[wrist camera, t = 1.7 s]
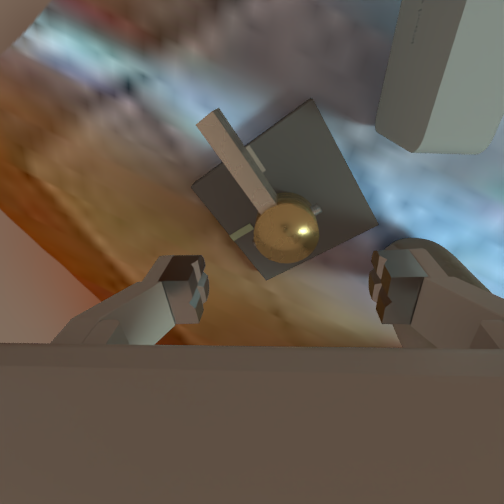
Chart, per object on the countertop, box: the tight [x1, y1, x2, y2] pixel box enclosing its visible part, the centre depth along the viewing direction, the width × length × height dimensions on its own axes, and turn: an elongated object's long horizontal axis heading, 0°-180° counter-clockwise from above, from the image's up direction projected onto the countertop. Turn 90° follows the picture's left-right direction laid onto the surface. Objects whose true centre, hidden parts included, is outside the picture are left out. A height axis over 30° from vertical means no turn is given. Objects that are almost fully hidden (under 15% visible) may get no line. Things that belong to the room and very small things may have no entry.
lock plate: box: [191, 98, 379, 280], centre depth 37 cm, size 18×18×6 cm
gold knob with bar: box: [196, 108, 322, 263], centre depth 30 cm, size 18×9×4 cm, turn 35°
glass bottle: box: [385, 238, 491, 348], centre depth 31 cm, size 10×10×28 cm
